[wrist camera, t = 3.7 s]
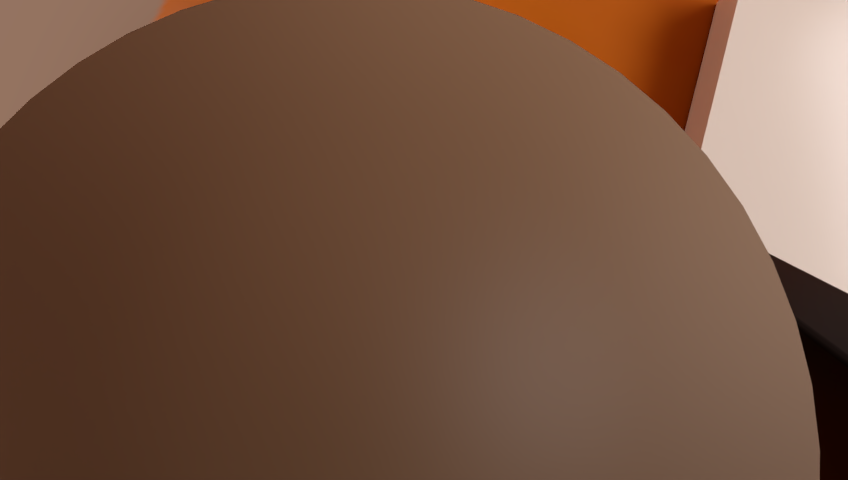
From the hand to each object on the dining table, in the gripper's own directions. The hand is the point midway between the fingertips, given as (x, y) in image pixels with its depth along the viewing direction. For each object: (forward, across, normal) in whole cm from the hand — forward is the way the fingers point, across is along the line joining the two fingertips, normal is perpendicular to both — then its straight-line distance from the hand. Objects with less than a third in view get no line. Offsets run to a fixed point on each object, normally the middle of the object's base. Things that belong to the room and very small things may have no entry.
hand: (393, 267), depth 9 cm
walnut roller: (+4, 0, +6) cm, 7 cm away
